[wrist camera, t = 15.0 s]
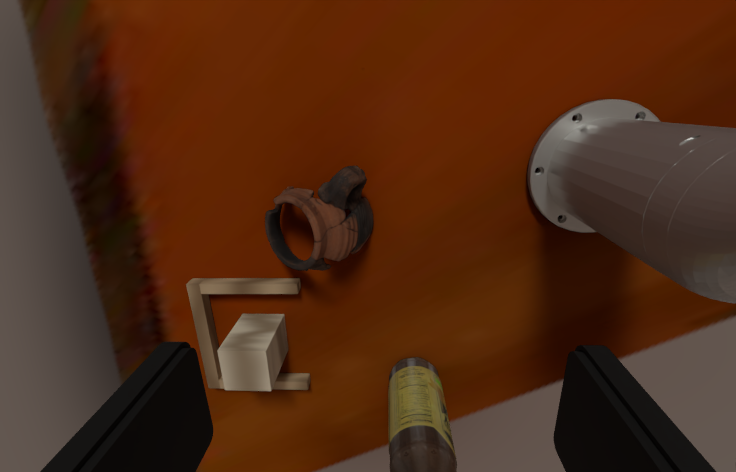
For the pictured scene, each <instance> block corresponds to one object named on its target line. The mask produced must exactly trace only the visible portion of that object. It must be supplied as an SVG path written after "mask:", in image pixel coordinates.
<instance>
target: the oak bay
mask: <svg viewBox="0 0 736 472" xmlns="http://www.w3.org/2000/svg"><path fill="white" fill-rule="evenodd" d="M186 286H187V290H188V295H189V300H190V304H191V309H192V314H193V318H194V323H195V327H196V332H197V337H198V341H199V346H200V350H201V355H202V360H203V364H204V369H205V374H206V378H207V383H208V387H209V388H223V389H225V388H224V383H223V378H222V373H221V367H220V362H219V357H218V351H217V350H218V349H219V345H218V340H217V335H216V330H215V324H214V319H213V314H212V309H211V304H210V299H209V294H298V293H299V291H300V289H301V283H300V278H193V279H192V280H191V281H189V282H188V283H187V284H186ZM309 385H310V373H279V374H278V376H277V379H276V381H275V383H274V386H273V388H272V389H285V390H308V388H309Z"/></svg>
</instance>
